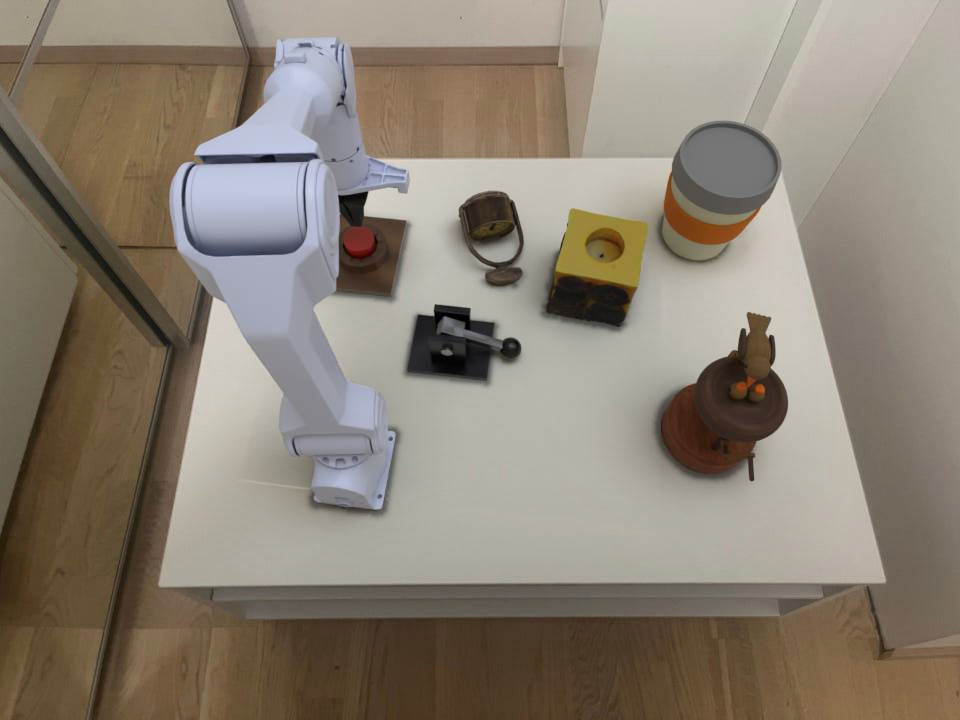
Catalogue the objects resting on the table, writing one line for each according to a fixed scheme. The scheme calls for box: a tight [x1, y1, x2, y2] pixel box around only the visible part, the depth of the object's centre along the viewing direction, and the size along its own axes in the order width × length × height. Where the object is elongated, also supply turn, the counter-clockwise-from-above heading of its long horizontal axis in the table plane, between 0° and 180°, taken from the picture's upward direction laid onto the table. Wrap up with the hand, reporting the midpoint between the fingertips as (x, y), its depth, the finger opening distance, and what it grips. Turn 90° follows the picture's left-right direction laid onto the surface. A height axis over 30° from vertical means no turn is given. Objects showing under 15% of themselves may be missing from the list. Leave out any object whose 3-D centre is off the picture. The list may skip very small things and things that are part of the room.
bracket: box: [407, 303, 495, 382], centre depth 82 cm, size 10×8×7 cm
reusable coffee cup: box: [661, 120, 783, 261], centre depth 86 cm, size 13×13×15 cm
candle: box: [545, 207, 649, 327], centre depth 84 cm, size 10×10×10 cm
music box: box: [660, 311, 789, 482], centre depth 71 cm, size 15×11×20 cm
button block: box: [335, 213, 408, 298], centre depth 90 cm, size 12×10×3 cm
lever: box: [436, 316, 523, 361], centre depth 82 cm, size 11×3×3 cm, turn 83°
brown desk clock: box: [458, 190, 525, 285], centre depth 89 cm, size 7×13×10 cm
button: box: [344, 226, 376, 258], centre depth 88 cm, size 4×4×2 cm
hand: (357, 220), depth 83 cm, fingers closed
